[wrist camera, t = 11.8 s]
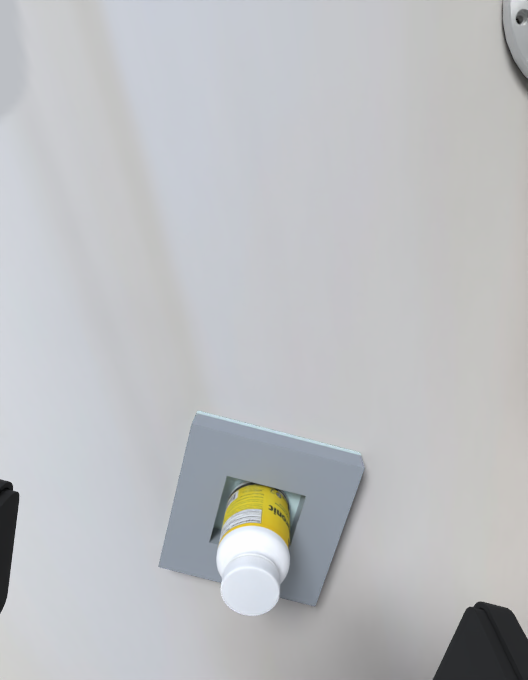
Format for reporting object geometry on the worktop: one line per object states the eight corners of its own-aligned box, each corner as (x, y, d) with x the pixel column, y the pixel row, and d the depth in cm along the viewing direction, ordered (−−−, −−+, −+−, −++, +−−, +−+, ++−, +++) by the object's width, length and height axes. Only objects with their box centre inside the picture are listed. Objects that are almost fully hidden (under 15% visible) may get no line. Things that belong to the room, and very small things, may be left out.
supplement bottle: (297, 524, 41) (298, 618, 32) (237, 536, 42) (222, 631, 33) (281, 470, 40) (278, 552, 30) (219, 483, 41) (198, 567, 31)
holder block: (197, 410, 39) (191, 423, 37) (360, 452, 40) (364, 468, 37) (165, 546, 43) (158, 566, 41) (313, 584, 43) (315, 606, 41)
